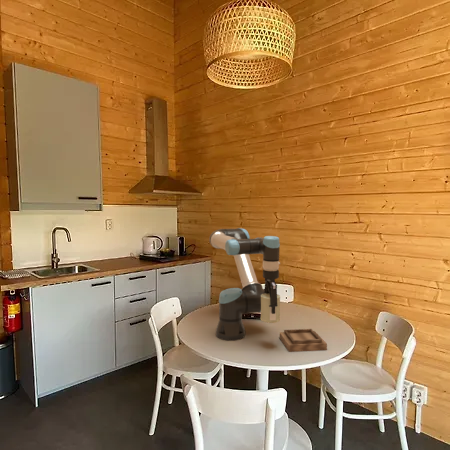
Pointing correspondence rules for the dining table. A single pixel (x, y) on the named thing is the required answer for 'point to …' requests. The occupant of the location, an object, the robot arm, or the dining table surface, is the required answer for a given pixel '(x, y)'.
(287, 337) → the stand
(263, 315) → the can
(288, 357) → the dining table surface
